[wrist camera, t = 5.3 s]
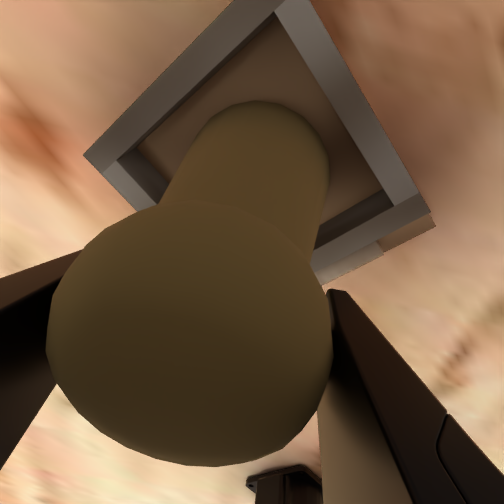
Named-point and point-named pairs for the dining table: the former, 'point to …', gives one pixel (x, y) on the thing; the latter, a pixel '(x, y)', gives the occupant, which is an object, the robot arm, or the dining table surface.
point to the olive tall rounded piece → (206, 301)
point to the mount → (281, 92)
